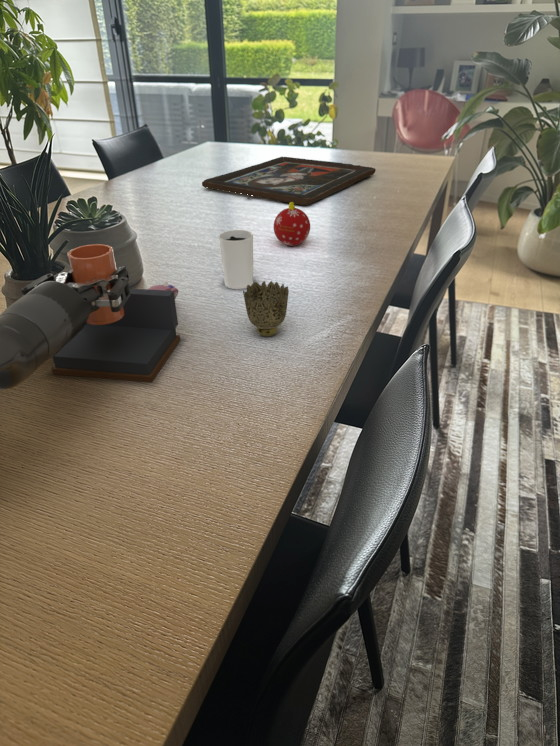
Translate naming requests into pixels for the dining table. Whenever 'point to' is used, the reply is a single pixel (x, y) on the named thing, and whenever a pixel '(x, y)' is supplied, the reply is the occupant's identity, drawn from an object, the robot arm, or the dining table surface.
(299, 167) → the religious icon
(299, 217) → the christmas ornament
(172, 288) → the video game controller
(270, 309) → the cup
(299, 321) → the dining table surface
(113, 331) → the sofa
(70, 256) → the cup
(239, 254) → the white cylindrical container
